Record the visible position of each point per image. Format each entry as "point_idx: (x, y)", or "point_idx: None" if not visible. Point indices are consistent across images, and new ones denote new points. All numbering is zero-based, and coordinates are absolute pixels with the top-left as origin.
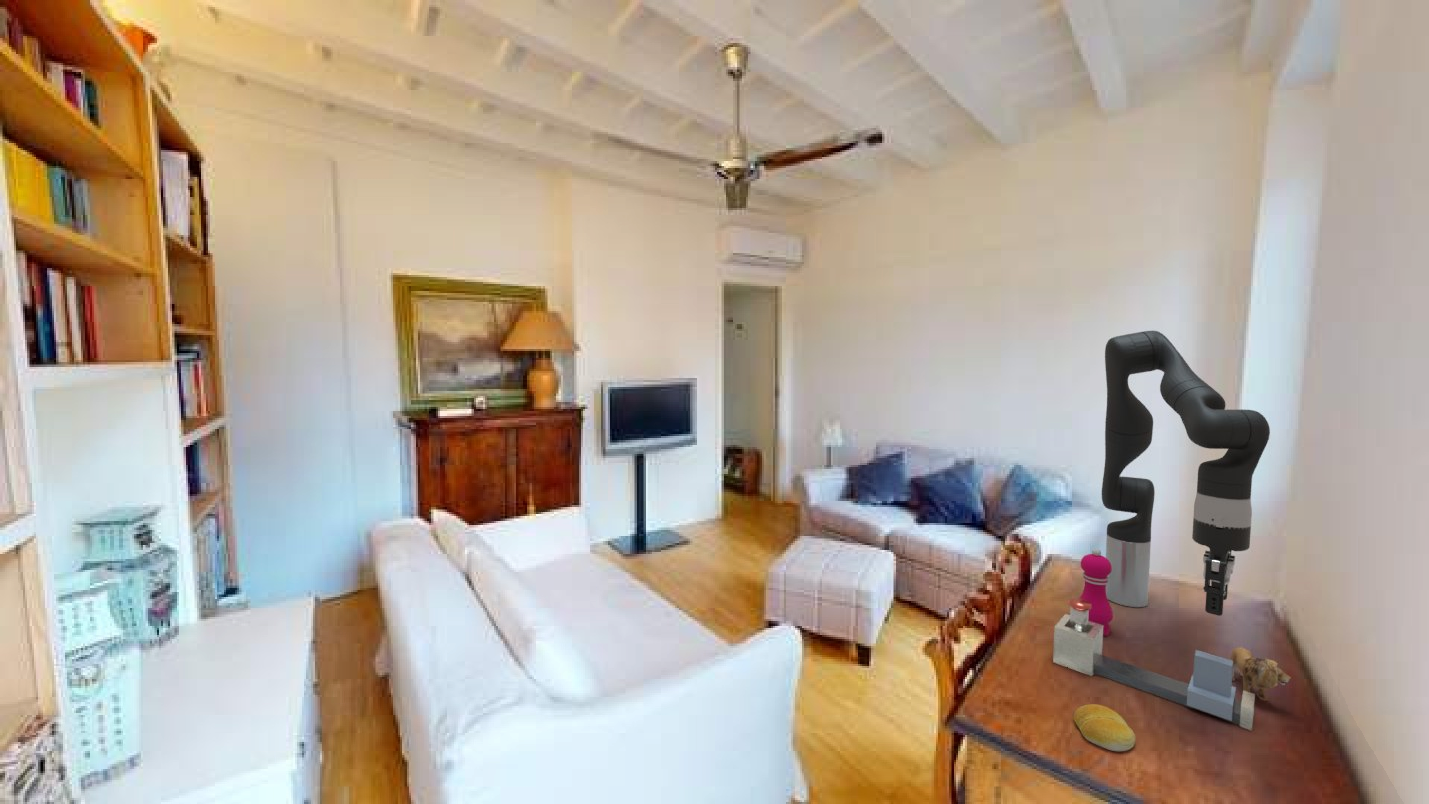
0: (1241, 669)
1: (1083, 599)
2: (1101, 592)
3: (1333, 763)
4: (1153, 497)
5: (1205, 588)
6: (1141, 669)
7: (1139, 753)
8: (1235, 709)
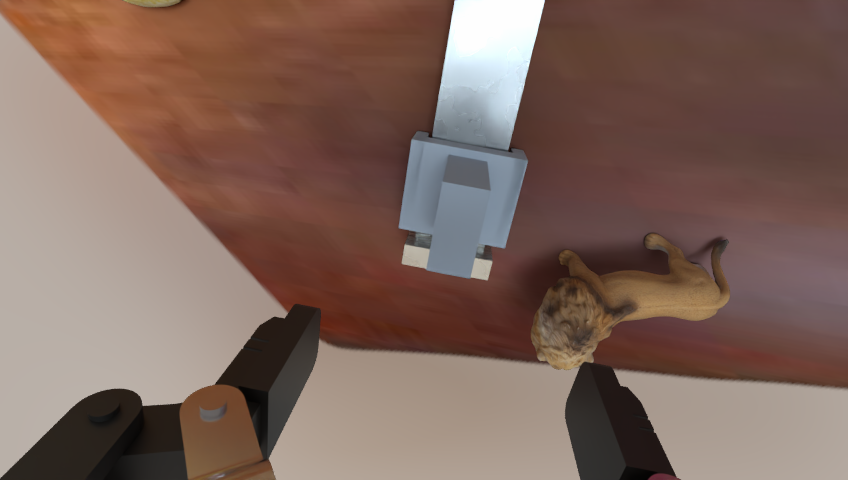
0: (608, 278)
1: None
2: None
3: (383, 334)
4: None
5: (68, 418)
6: (530, 21)
7: (139, 18)
8: None
